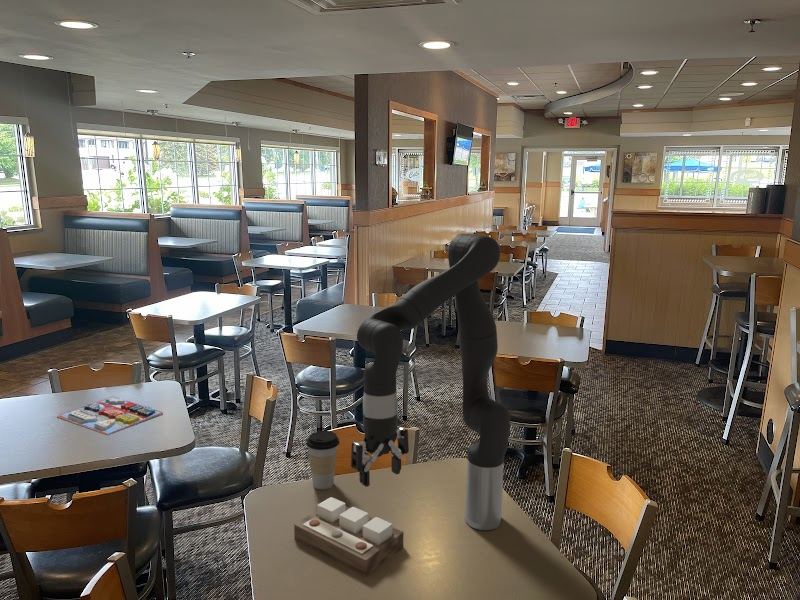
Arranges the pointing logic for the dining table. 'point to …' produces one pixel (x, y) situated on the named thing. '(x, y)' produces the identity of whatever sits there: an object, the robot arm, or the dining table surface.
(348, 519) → the button
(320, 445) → the coffee cup
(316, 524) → the button panel
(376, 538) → the button
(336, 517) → the button
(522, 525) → the dining table surface
